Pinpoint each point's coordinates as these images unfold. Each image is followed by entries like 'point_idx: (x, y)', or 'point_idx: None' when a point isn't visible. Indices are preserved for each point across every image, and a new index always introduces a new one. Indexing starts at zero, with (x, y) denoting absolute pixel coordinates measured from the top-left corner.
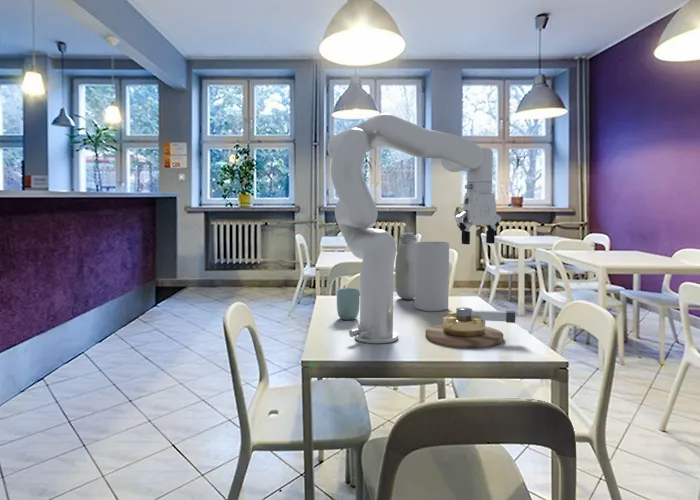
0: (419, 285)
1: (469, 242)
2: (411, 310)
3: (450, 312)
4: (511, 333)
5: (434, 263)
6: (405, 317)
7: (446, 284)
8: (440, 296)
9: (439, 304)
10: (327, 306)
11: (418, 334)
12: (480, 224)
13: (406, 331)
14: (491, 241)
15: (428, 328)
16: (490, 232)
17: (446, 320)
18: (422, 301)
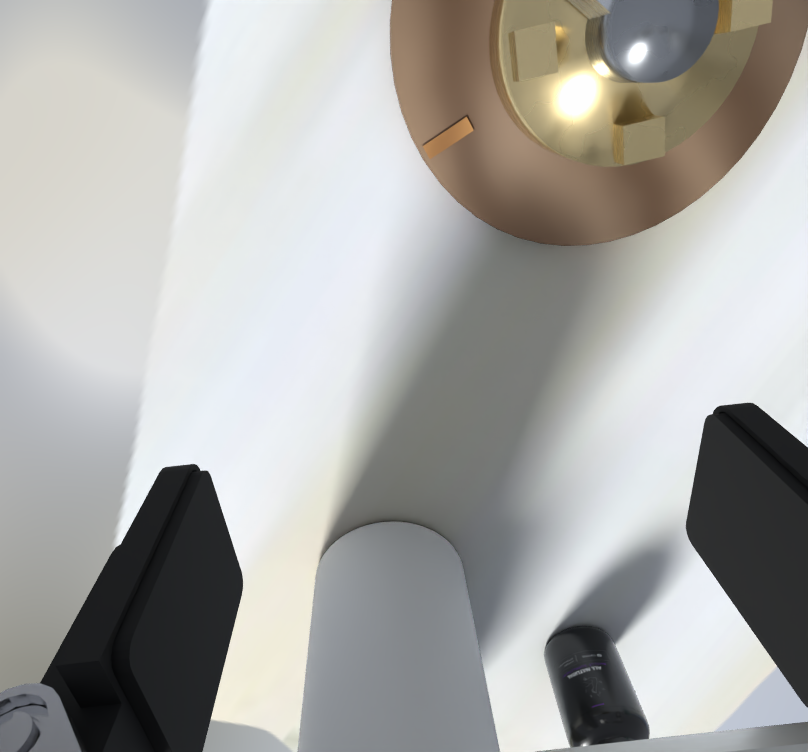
0: (480, 654)
1: (741, 413)
2: (490, 563)
3: (650, 151)
4: (293, 12)
5: (443, 750)
6: (589, 469)
7: (347, 629)
8: (389, 570)
9: (392, 540)
10: (737, 677)
11: (744, 180)
12: (770, 737)
13: (751, 251)
14: (206, 503)
15: (705, 184)
16: (162, 678)
17: (736, 53)
18: (460, 576)
